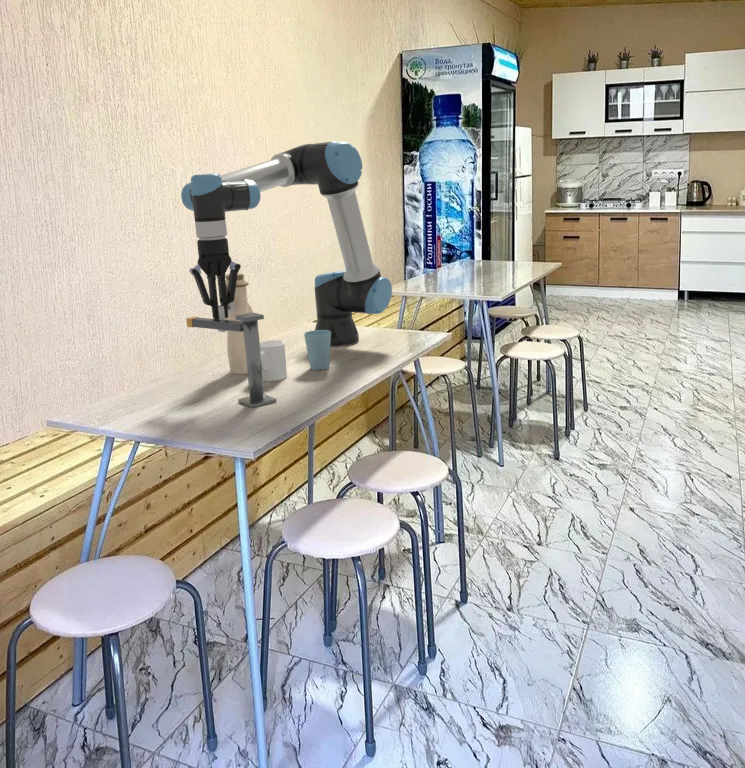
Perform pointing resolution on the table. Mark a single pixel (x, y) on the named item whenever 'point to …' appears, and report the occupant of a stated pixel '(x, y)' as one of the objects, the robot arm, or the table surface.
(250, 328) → the post
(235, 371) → the water bottle
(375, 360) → the table surface
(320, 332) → the cup
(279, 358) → the mug
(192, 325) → the bar
